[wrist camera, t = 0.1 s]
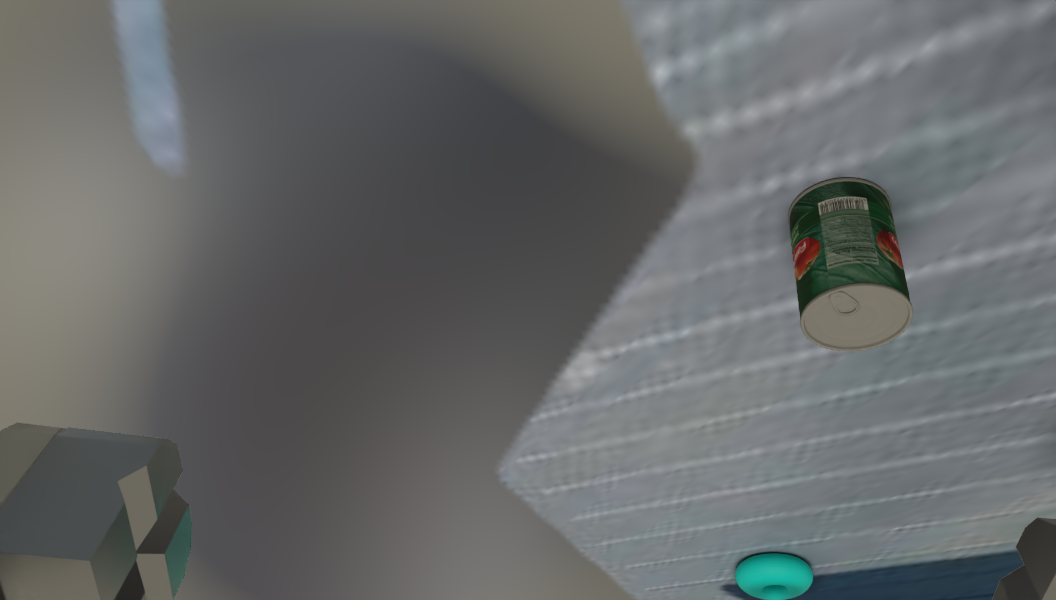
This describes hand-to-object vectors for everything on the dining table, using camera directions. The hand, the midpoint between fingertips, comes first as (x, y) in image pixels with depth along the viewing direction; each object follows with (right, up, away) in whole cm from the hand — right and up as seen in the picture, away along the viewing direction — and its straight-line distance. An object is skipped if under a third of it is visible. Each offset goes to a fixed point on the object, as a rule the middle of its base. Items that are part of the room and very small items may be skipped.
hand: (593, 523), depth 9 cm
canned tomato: (+24, +9, +69) cm, 73 cm away
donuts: (+32, -33, +120) cm, 129 cm away
